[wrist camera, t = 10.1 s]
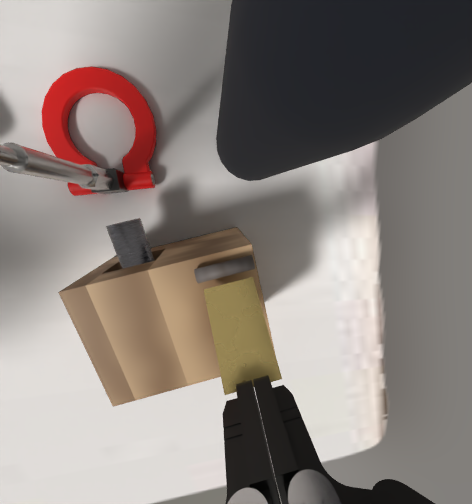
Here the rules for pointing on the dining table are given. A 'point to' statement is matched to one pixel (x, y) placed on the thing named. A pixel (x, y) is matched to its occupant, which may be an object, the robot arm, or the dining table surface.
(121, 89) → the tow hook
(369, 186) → the dining table surface
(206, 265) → the block
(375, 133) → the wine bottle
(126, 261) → the pin
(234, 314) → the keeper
